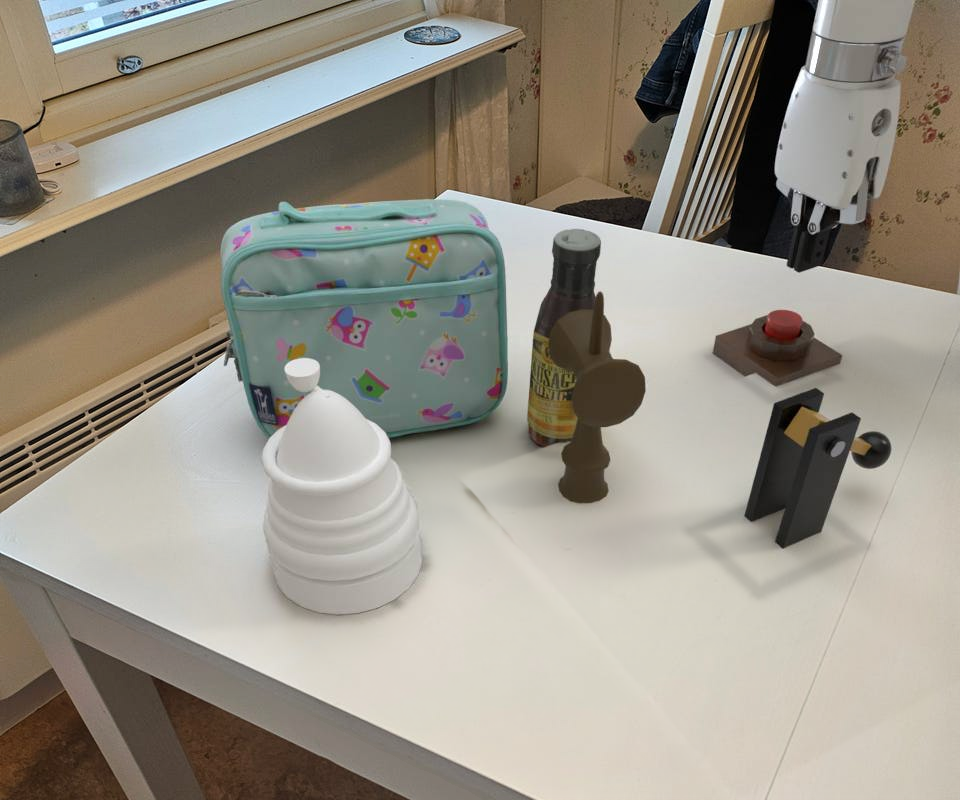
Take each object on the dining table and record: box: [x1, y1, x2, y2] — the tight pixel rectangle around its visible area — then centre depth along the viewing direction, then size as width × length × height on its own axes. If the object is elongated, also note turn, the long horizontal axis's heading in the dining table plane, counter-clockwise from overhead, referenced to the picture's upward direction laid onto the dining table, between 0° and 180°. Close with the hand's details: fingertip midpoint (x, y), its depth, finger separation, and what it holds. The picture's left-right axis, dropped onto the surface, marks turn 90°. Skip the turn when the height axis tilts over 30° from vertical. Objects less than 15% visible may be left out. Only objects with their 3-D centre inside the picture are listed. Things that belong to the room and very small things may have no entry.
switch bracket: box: [744, 387, 862, 549], centre depth 75 cm, size 12×9×13 cm
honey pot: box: [261, 358, 423, 616], centre depth 71 cm, size 13×13×18 cm
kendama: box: [548, 291, 647, 505], centre depth 76 cm, size 6×10×20 cm, turn 11°
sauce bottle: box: [526, 228, 602, 448], centre depth 83 cm, size 7×6×20 cm
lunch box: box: [220, 198, 509, 439], centre depth 85 cm, size 27×10×21 cm, turn 102°
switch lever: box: [784, 407, 892, 470], centre depth 75 cm, size 13×3×3 cm, turn 119°
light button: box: [764, 309, 804, 340], centre depth 95 cm, size 4×4×2 cm
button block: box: [712, 314, 843, 387], centre depth 97 cm, size 9×10×4 cm
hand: (803, 265), depth 90 cm, fingers closed
